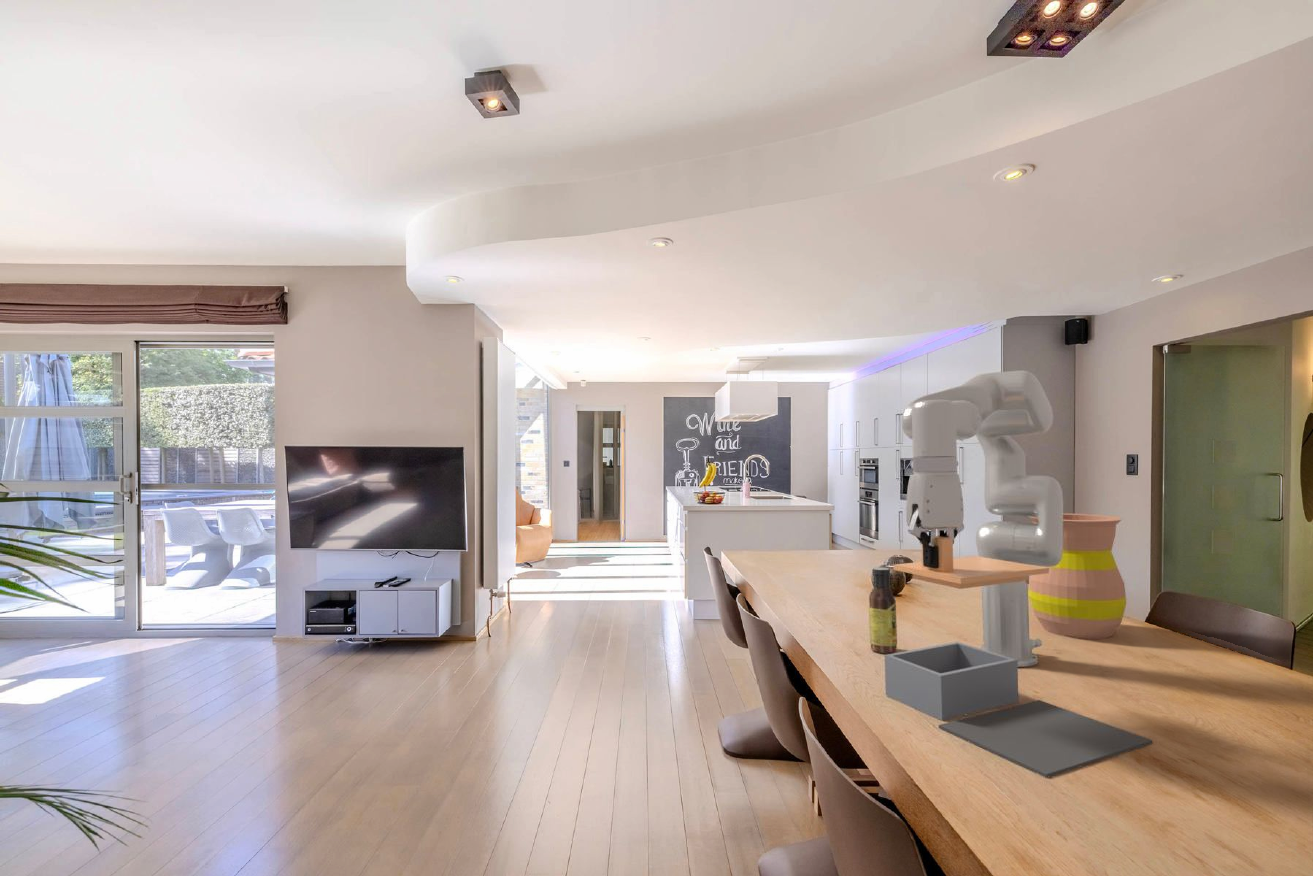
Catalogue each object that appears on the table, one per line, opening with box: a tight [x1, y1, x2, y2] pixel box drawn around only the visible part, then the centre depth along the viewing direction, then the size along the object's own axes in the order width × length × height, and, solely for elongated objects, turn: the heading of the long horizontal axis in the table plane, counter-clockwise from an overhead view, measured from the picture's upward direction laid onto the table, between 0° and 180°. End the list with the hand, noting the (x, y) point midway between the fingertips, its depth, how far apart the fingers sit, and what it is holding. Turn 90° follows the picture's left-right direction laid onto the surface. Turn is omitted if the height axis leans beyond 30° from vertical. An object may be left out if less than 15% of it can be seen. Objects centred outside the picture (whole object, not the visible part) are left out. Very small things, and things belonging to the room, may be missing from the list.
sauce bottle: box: [868, 567, 898, 654], centre depth 163 cm, size 7×6×20 cm
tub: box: [884, 641, 1020, 721], centre depth 131 cm, size 20×14×8 cm
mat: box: [938, 699, 1154, 778], centre depth 113 cm, size 26×20×1 cm
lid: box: [893, 534, 1049, 590], centre depth 126 cm, size 22×16×8 cm
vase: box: [1028, 513, 1127, 640], centre depth 177 cm, size 22×22×30 cm
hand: (937, 565), depth 123 cm, fingers closed on lid, 2 cm apart
